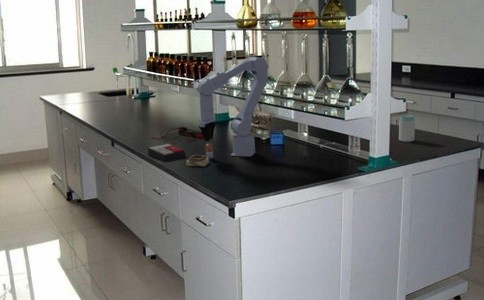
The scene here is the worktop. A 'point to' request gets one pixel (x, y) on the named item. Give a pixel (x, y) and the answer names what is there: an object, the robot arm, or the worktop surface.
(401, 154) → the worktop surface
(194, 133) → the digital clamp meter
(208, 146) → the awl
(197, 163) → the tan rectangular frame
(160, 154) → the calculator
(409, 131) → the can
